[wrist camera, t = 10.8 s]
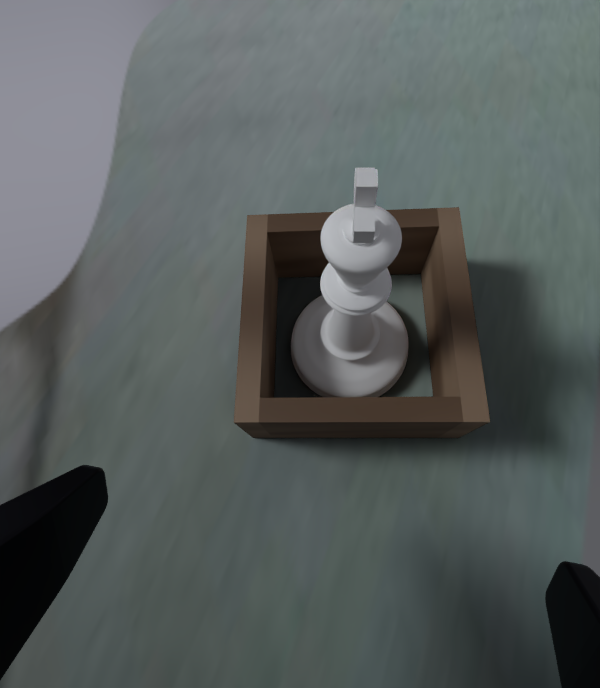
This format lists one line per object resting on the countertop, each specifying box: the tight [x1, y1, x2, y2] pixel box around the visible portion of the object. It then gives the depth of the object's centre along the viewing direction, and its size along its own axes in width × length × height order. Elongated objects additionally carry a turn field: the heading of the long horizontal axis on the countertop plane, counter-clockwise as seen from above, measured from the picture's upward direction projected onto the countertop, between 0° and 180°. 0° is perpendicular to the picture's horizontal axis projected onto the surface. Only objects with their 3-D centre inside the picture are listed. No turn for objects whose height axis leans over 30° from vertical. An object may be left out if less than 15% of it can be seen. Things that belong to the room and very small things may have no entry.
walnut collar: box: [234, 207, 490, 438], centre depth 16 cm, size 8×8×4 cm
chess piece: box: [291, 168, 409, 397], centre depth 13 cm, size 5×5×10 cm
